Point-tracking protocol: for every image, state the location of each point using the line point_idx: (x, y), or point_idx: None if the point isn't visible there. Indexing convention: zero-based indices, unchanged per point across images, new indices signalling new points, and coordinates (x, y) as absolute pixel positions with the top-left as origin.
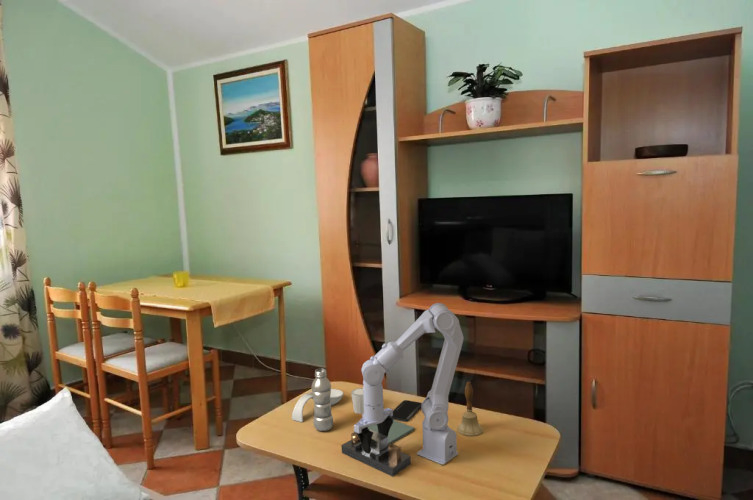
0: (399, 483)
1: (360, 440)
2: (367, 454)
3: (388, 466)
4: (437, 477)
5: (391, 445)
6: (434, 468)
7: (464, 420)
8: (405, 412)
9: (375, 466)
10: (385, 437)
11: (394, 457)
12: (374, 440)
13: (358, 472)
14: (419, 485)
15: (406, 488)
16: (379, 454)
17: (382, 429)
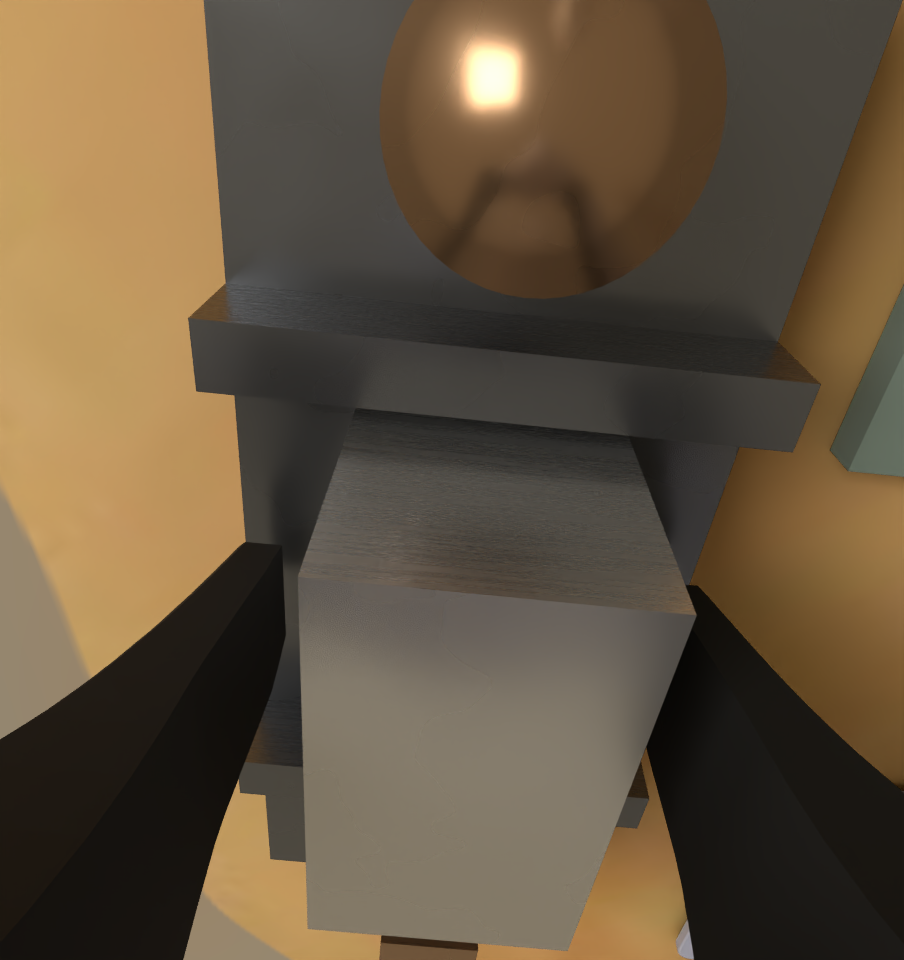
0: (256, 834)
1: (94, 685)
2: (296, 551)
3: (269, 823)
4: (502, 952)
5: (431, 956)
6: (605, 914)
7: None
8: None
9: None
10: (510, 937)
11: None
12: (310, 855)
13: (85, 505)
14: None
15: (243, 881)
16: (292, 781)
17: (733, 878)
